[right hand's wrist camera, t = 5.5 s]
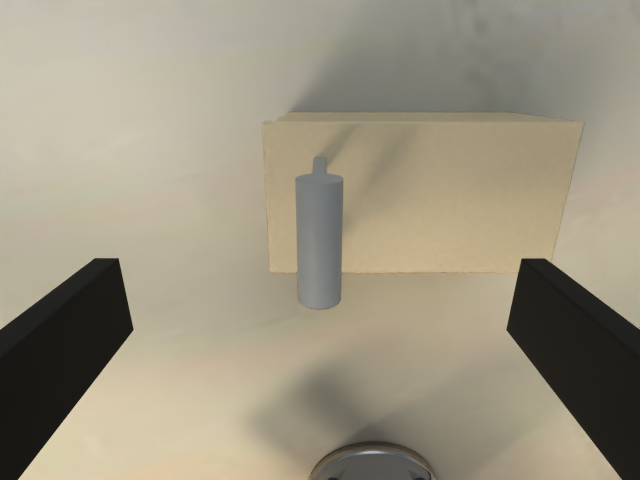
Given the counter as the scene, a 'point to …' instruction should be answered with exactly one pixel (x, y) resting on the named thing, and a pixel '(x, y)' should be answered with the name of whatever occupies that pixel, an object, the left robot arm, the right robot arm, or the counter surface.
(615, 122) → the counter surface
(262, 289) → the counter surface
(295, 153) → the lid
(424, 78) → the counter surface
